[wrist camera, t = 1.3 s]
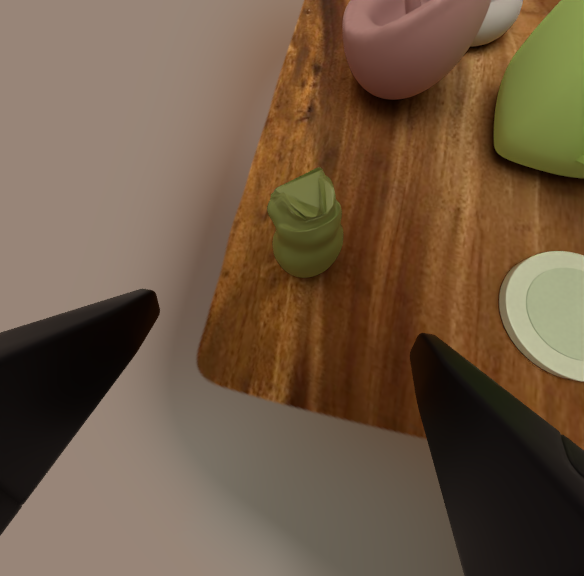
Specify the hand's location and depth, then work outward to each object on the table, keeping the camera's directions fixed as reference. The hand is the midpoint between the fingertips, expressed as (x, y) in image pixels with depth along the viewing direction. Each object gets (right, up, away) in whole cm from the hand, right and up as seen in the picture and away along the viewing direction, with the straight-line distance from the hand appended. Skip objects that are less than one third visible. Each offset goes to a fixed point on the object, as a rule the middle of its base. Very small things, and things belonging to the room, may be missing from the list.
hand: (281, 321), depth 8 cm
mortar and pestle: (+11, +24, +20) cm, 33 cm away
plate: (+24, -1, +13) cm, 27 cm away
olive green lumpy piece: (+2, +4, +15) cm, 15 cm away
